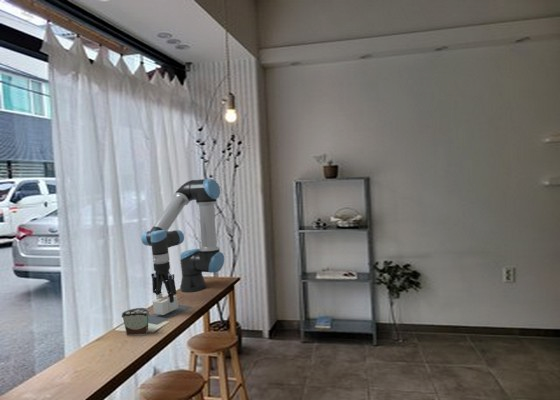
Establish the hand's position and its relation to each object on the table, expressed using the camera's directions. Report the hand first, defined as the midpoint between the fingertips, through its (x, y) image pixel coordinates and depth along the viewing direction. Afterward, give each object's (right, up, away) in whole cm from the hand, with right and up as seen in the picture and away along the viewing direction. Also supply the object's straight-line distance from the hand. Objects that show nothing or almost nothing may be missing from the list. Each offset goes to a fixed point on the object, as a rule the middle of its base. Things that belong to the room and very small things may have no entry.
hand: (166, 307), depth 193 cm
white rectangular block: (0, -1, 0) cm, 1 cm away
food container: (-6, -6, -19) cm, 21 cm away
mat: (0, -3, 0) cm, 3 cm away
